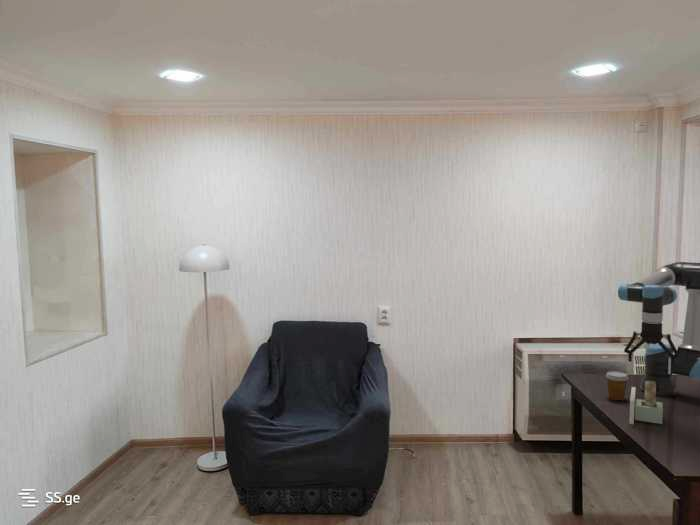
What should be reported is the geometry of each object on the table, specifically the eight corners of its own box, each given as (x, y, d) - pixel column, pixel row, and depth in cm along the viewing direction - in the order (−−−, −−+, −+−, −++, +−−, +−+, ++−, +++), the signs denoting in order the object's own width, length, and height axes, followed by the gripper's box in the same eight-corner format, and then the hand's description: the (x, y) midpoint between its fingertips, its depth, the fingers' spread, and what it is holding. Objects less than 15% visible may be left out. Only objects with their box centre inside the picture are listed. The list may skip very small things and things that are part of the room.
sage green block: (661, 416, 226) (662, 402, 225) (662, 424, 217) (662, 410, 217) (635, 412, 231) (636, 398, 230) (634, 419, 222) (635, 406, 222)
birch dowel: (650, 416, 226) (651, 380, 225) (656, 420, 222) (658, 383, 221) (641, 417, 226) (642, 381, 224) (648, 420, 222) (649, 383, 220)
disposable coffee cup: (625, 396, 252) (626, 371, 251) (629, 402, 243) (630, 377, 242) (604, 394, 255) (604, 370, 254) (606, 400, 246) (607, 375, 245)
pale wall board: (635, 408, 235) (635, 387, 235) (633, 424, 218) (634, 401, 217) (631, 408, 236) (631, 386, 235) (629, 423, 219) (630, 400, 218)
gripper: (686, 322, 217) (684, 372, 219) (619, 317, 230) (618, 365, 232) (687, 326, 211) (685, 377, 213) (618, 321, 223) (617, 369, 225)
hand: (650, 371), depth 222 cm, fingers open, 13 cm apart
